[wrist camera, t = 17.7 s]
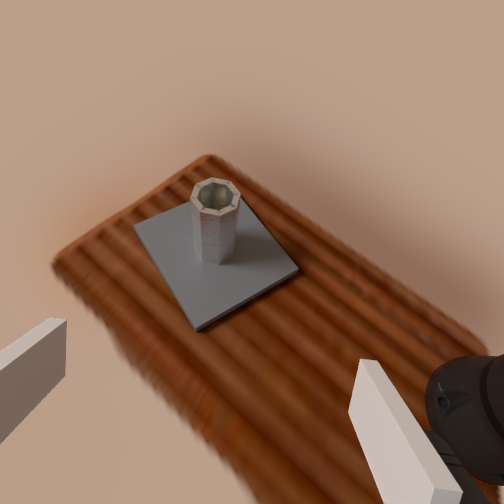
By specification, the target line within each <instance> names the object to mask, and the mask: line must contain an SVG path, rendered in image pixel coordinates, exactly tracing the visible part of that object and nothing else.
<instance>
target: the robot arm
mask: <svg viewBox="0 0 504 504" xmlns="http://www.w3.org/2000/svg"><path fill="white" fill-rule="evenodd" d="M66 326H67V320H66V319H58V318H51V317H49V318H48V319H46V320H45V321H43V322H42V323H40V324H39V325H37V326H36V327H35V328H33V329H32V330H30V331H29V332H27V333H26V334H24V335H23V336H21V337H20V338H19V339H17V340H16V341H14V342H13V343H11V344H10V345H9V346H7V347H6V348H4V349H3V350H1V351H0V444H1V443H2V442H3V441H4V440H5V438H6V437H7V436H8V435H9V434H10V433H11V432H12V431H13V430H14V429H15V428H16V427H17V426H18V425H19V424H20V423H21V422H22V420H24V418H25V417H26V416H27V415H28V414H29V413H30V412H31V411H32V410H33V409H34V408H35V407H36V406H37V405H38V404H39V403H40V402H41V400H42V399H43V398H44V397H45V396H46V395H47V394H48V393H49V392H50V391H51V390H52V389H53V388H54V387H55V386H56V385H57V384H58V382H60V380H61V379H62V378H63V377H64V376H65V364H66V363H65V362H66V328H67V327H66ZM425 403H426V411H427V416H428V420H429V423H430V426H431V428H432V431H430V430H422V429H421V427H420V425H419V424H418V422H417V421H416V419H415V418H414V416H413V415H412V413H411V412H410V410H409V409H408V407H407V406H406V404H405V403H404V401H403V400H402V398H401V397H400V395H399V394H398V392H397V390H396V389H395V387H394V386H393V384H392V383H391V381H390V380H389V378H388V377H387V375H386V374H385V372H384V371H383V369H382V368H381V366H380V365H379V363H378V362H377V361H373V360H366V359H360V363H359V367H358V371H357V376H356V380H355V385H354V389H353V393H352V398H351V402H350V407H349V411H348V413H349V416H350V418H351V421H352V423H353V426H354V428H355V431H356V433H357V436H358V439H359V441H360V444H361V446H362V449H363V451H364V454H365V456H366V459H367V462H368V464H369V467H370V469H371V472H372V474H373V477H374V479H375V482H376V484H377V487H378V490H379V492H380V495H381V497H382V500H383V502H384V504H492V503H489V501H488V500H487V498H486V497H485V496H484V494H483V493H482V491H481V490H480V489H479V487H478V486H477V484H476V483H475V482H474V480H473V479H472V477H471V476H473V477H475V478H477V479H479V480H481V481H483V482H486V483H489V484H493V485H499V486H504V354H503V355H500V356H477V355H468V356H462V357H458V358H455V359H453V360H451V361H448V362H446V363H444V364H443V365H441V366H440V367H438V368H437V369H436V370H435V372H434V373H433V374H432V376H431V378H430V380H429V382H428V385H427V389H426V397H425ZM469 474H470V475H471V476H470V475H469Z"/></svg>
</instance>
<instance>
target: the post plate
mask: <svg viewBox="0 0 504 504" xmlns="http://www.w3.org/2000/svg"><path fill="white" fill-rule="evenodd" d="M133 226H134V229H135V232H136V233H137V235H138V237H139V238H140V240H141V242H142V243H143V245H144V247H145V248H146V250H147V252H148V253H149V255H150V257H151V258H152V260H153V262H154V263H155V265H156V267H157V268H158V270H159V272H160V273H161V275H162V277H163V278H164V280H165V282H166V283H167V285H168V287H169V288H170V290H171V292H172V293H173V295H174V297H175V298H176V300H177V302H178V303H179V305H180V306H181V308H182V310H183V311H184V313H185V315H186V316H187V318H188V320H189V321H190V323H191V325H192V326H193V328H194V330H195V331H196V332H197V331H199V330H200V329H202V328H204V327H205V326H207V325H209V324H211V323H212V322H214V321H216V320H217V319H219V318H221V317H223V316H224V315H226V314H228V313H229V312H231V311H233V310H235V309H236V308H238V307H240V306H241V305H243V304H245V303H247V302H248V301H250V300H252V299H253V298H255V297H257V296H259V295H260V294H262V293H264V292H265V291H267V290H269V289H271V288H272V287H274V286H276V285H277V284H279V283H281V282H283V281H284V280H286V279H288V278H290V277H291V276H293V275H295V274H296V273H297V271H298V269H299V268H298V267H297V266H296V265H295V264H294V262H293V261H292V260H291V259H290V257H289V256H288V255H287V254H286V253H285V251H284V250H283V249H282V248H281V246H280V245H279V244H278V243H277V242H276V240H275V239H274V238H273V237H272V235H271V234H270V233H269V232H268V231H267V229H266V228H265V227H264V226H263V224H262V223H261V222H260V221H259V220H258V218H257V217H256V216H255V215H254V213H253V212H252V211H251V210H250V209H249V207H248V206H247V205H246V204H245V202H244V201H243V200H242V199H241V197H240V206H239V216H238V227H237V237H236V246H235V249H234V253H233V257H232V258H231V259H229V260H227V261H225V262H223V263H221V264H220V265H216V264H211V263H207V262H202V260H201V259H200V257H199V256H198V254H197V253H196V251H195V250H194V240H193V228H192V216H191V205H190V201H189V202H187V203H184V204H182V205H180V206H177V207H175V208H173V209H170V210H168V211H166V212H163V213H161V214H159V215H156V216H154V217H152V218H149V219H147V220H145V221H142V222H140V223H138V224H135V225H133Z"/></svg>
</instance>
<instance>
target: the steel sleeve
mask: <svg viewBox="0 0 504 504" xmlns="http://www.w3.org/2000/svg"><path fill="white" fill-rule="evenodd" d="M240 196H241V193H240V192H239V191H238V190H237V189H236V187H235V186H234V185H233V184H232V183H231V181H227V180H222V179H218V178H213V177H212V178H209V179H207V180H204V181H202V182H200V183H197V184H195V186H194V189H193V192H192V194H191V197H190V205H191V216H192V228H193V240H194V250H195V251H196V253H197V254H198V256H199V257H200V259H201V260H202V262H207V263H211V264H216V265H220V264H221V263H223V262H225V261H227V260H229V259H231V258H232V257H233V253H234V249H235V246H236V237H237V227H238V216H239V206H240Z"/></svg>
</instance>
